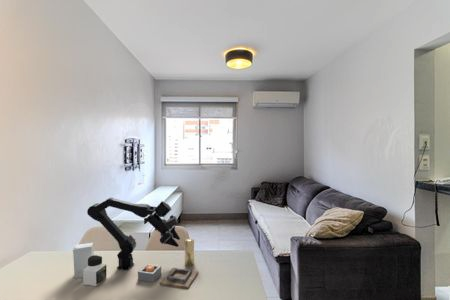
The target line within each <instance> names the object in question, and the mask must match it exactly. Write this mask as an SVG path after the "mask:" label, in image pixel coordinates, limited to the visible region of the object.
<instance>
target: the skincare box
mask: <svg viewBox="0 0 450 300" xmlns="http://www.w3.org/2000/svg"><path fill="white" fill-rule="evenodd" d="M72 253H73V274H74V275H73V277H74V279H78V278H83V270H84V269H85V268H87V267H88V258H89V257H91V256H93V255H94V242H87V243H81V244H80V243H79V244H75V245H74V248H73V249H72Z"/></svg>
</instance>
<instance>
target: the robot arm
mask: <svg viewBox="0 0 450 300" xmlns="http://www.w3.org/2000/svg"><path fill="white" fill-rule="evenodd" d="M110 207H111V208H114V209H119V210H123V211H126V212H130V213H132V214H134V215H135V216H138V217H140V218H142V219H143V220H144V221H143V224H144V225H146V224H150V225H151V226H152V227H153V228H154V231H157V232H159V234H160V238H159V242H160V244H162V245H163V244H164V245H169V246H173V247H176V248H177V247H179V244H178V242H177V241H180V240H181V238H180V236H179V234H178V233H177V230H176V225H177V224H178V222H179V221H178V219H177V218H178V217H176V216H175V215H173V214H172V215H170V216H169V218H168V219H167V220H166V219H165V218H164V217H166V216H167V215H168V213H170V212H171V210H172V208H171V206H170V204H168V203H166V202H165V201H163V200H161V201H160V202H159V204H158V205H157V206H153V205H152V206H151V205H149V204H146V203H132V202H129V201H125V200H121V199H119V198H118V199H117V198H114V197H109V198H107V199H106V200H104V201H102V202H101V203H98V202H97V203H94V204H93V205H90V206H89V207H88V208H87V211H86V214H87V216H89V217H90V218H91V219H93V221H96V222H99V223H100V224H101V225H102V226H103V228H105V230H106V231H107V232H108V233H109V234H110V235H111V236H112V237H113V239H114V240H115V241H116V242H117V244H118V247H119V249H120V251H119V252H118V253H117V258H118V259H117V260H118V266H116V269H118V270H125V271H127V270H129V269H131V268H132V267H133V266H134V265H135V263H134V258H133V252H134V250H135V249H136V247H137V241H136V239H135V238H134V237H133V235H131V234H129V236H128V235H126V234H125V233H124V232H123V231H122V230H121V229H120V228H119V226H118V225H117V224H116V223H115V222H114V221H113V220H112V219H111V218H110V217H109V216H108V213H107V210H106V209H107V208H110ZM175 239H176V240H177V241H176V240H175Z"/></svg>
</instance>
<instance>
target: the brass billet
mask: <svg viewBox="0 0 450 300" xmlns="http://www.w3.org/2000/svg"><path fill="white" fill-rule="evenodd" d="M184 265H185V266H186V267H192V266H194V265H195V239H193V238H186V239H185V240H184Z"/></svg>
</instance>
